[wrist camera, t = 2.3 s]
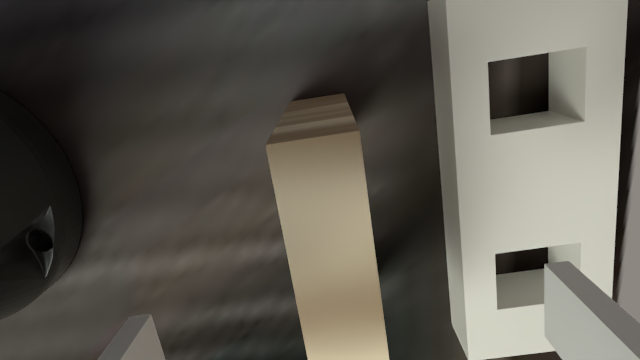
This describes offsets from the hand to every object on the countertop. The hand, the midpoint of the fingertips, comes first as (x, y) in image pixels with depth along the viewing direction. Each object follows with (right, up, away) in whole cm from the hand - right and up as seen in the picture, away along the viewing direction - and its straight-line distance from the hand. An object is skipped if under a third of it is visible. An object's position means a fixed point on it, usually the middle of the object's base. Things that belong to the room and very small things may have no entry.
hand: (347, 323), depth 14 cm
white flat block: (+10, +5, +11) cm, 16 cm away
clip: (0, +4, +11) cm, 12 cm away
